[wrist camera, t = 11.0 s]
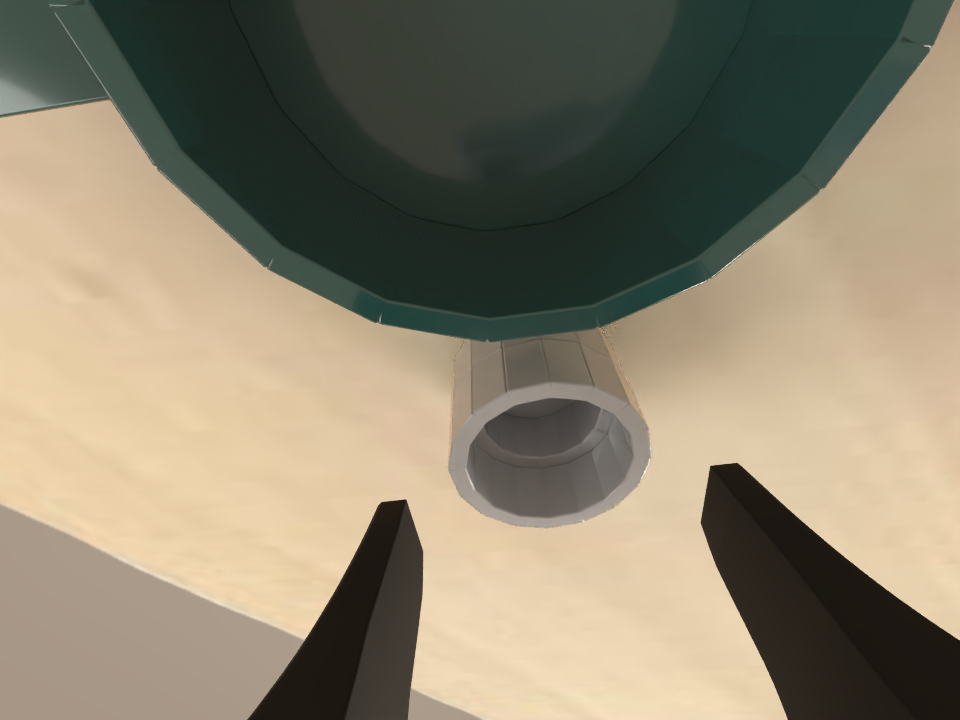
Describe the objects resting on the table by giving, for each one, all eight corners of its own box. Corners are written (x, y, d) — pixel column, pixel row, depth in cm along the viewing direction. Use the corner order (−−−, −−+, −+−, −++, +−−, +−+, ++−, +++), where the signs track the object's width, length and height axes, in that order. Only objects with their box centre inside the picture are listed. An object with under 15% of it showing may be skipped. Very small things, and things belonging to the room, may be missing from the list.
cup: (555, 264, 15) (583, 344, 11) (639, 378, 17) (685, 474, 14) (420, 357, 17) (406, 453, 13) (513, 448, 19) (524, 551, 16)
